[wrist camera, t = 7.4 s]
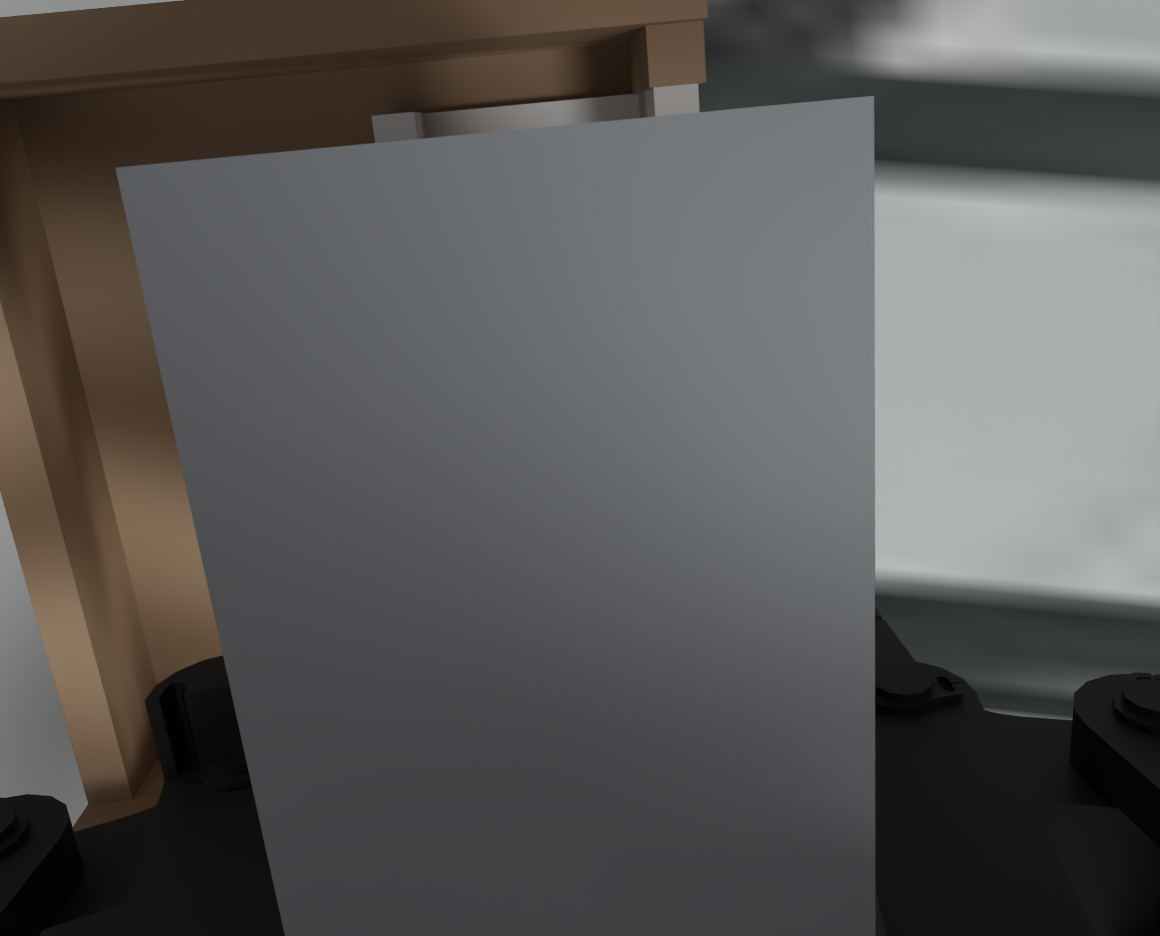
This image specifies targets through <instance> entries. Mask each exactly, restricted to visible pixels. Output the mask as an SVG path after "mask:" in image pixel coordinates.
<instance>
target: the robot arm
mask: <svg viewBox="0 0 1160 936" xmlns="http://www.w3.org/2000/svg"><path fill="white" fill-rule="evenodd" d="M145 705H146V709H147V713H148V717H149V721H150V725H151V729H152V733H153V737H154V741H155V745H156V749H157V752H158V756H159V760H160V764H161V768H162V772H163V776H164V780H165V781H164V784H163V787H162V790H161V794H160V797H159V800H158V803H157V805H155V806H153V807H151V808H149V809H146V810H143V811H140V812H137V813H135V814H132V815H129V816H126V817H123V818H119V819H116V820H112V821H109V822H106V823H102V824H99V825H95V826H92V827H89V828H85V829H82V830H79V831H75V832H74V831H73V827H72V824H71V820H70V817H69V813H68V810H67V807H66V804H64V803H62V802H60V801H59V800H57V799H55V798H53V797H52V796H42V795H29V794H26V795H20V796H14V797H8V798H0V936H285V934H284V929H283V925H282V920H281V916H280V911H279V907H278V902H277V898H276V893H275V889H274V884H273V880H272V875H271V870H270V866H269V861H268V857H267V852H266V848H265V843H264V839H263V834H262V830H261V825H260V821H259V816H258V812H257V807H256V803H255V798H254V793H253V789H252V784H251V780H250V775H249V771H248V766H247V762H246V757H245V753H244V748H243V744H242V739H241V735H240V730H239V726H238V721H237V716H236V712H235V707H234V703H233V698H232V694H231V689H230V685H229V680H228V676H227V671H226V667H225V662H224V658H223V655H222V656H218V657H214V658H210V659H206V660H202V661H200V662H198V663H195V664H193V665H191V666H188V667H186V668H184V669H181V670H179V671H177V672H175V673H174V674H172V675H171V676H169V677H168V678H166V679H165V680H163V681H162V682H160V683H159V684H158V685H156V686H155V687H154V689H153V690H152V691H151V693H150V694H149V695H148V697H147V698H146V699H145ZM875 936H1160V675H1159V674H1155V676H1154V675H1151V673H1132V674H1118V675H1107V676H1104V677H1101V678H1097V679H1094V680H1091V681H1087V682H1086V683H1085V684H1084V685H1083V686H1082V687H1080V688H1079V689H1078V690H1077V691H1076V692H1075V693H1074V706H1073V721H1072V720H1059V719H1046V718H1033V717H1020V716H1013V715H1005V714H998V713H993V712H990V711H986V710H984V708H983V706H982V704H981V702H980V700H979V698H978V696H977V694H976V692H975V691H974V690H973V689H972V688H971V687H970V686H969V685H968V684H967V682H966V681H965V680H964V679H962V678H960V677H958V676H956V675H955V674H953V673H951V672H949V671H947V670H945V669H943V668H939V667H936V666H932V665H928V664H924V663H920V662H916V661H915V660H914V659H913V657H912V656H911V655H910V653H909V652H908V651H907V649H906V648H905V647H904V645H903V644H902V643H901V641H900V640H899V638H898V637H897V636H896V634H895V633H894V632H893V630H892V629H891V628H890V626H889V625H888V624H887V622H886V621H885V620H882V616H881V614H880V613H879V611H878V610H877V609H876V607H875Z"/></svg>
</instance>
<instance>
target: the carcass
mask: <svg viewBox="0 0 1160 936" xmlns="http://www.w3.org/2000/svg"><path fill="white" fill-rule="evenodd" d="M706 18H708V10H707V0H184V1H173V2H162V3H151V4H141V5H130V6H119V7H108V8H98V9H87V10H77V11H67V12H55V13H45V14H33V15H23V16H12V17H1V18H0V491H1V495H2V499H3V502H4V506H5V509H6V513H7V516H8V520H9V523H10V527H11V531H12V534H13V538H14V541H15V545H16V548H17V552H18V556H19V559H20V563H21V566H22V570H23V573H24V577H25V580H26V584H27V588H28V591H29V595H30V598H31V602H32V605H33V608H34V612H35V616H36V620H37V623H38V626H39V630H40V634H41V637H42V641H43V644H44V648H45V651H46V655H47V658H48V662H49V666H50V669H51V673H52V676H53V680H54V683H55V687H56V690H57V694H58V698H59V701H60V705H61V708H62V712H63V715H64V719H65V722H66V726H67V730H68V733H69V737H70V740H71V744H72V747H73V751H74V754H75V758H76V761H77V765H78V768H79V772H80V776H81V779H82V782H83V786H84V790H85V793H86V797H87V800H88V805H87V807H86V809H85V810H84V811H83V813H82V814H81V816H80V817H79V819H78V820H77V822H76V823H75V825H74V826H73V831H74V832H75V831H79V830H82V829H85V828H89V827H92V826H95V825H99V824H102V823H106V822H109V821H112V820H116V819H119V818H123V817H126V816H129V815H132V814H135V813H137V812H140V811H143V810H146V809H149V808H151V807H153V806H155V805H157V803H158V800H159V797H160V794H161V790H162V787H163V784H164V781H165V780H164V776H163V772H162V768H161V764H160V760H159V756H158V752H157V749H156V745H155V741H154V737H153V733H152V729H151V725H150V721H149V717H148V713H147V709H146V705H145V699H146V698H147V697H148V695H149V694H150V693H151V691H152V690H153V689H154V687H155V686H156V685H158V684H159V683H160V682H162V681H163V680H165V679H166V678H168V677H169V676H171V675H172V674H174V673H175V672H177V671H179V670H181V669H184V668H186V667H188V666H191V665H193V664H195V663H198V662H200V661H202V660H206V659H210V658H214V657H218V656H222V655H223V653H222V649H221V644H220V639H219V635H218V630H217V626H216V621H215V617H214V612H213V608H212V603H211V599H210V594H209V590H208V585H207V581H206V576H205V571H204V567H203V562H202V558H201V553H200V549H199V544H198V540H197V535H196V531H195V526H194V522H193V517H192V513H191V508H190V504H189V499H188V494H187V490H186V485H185V481H184V476H183V472H182V467H181V463H180V458H179V454H178V449H177V445H176V440H175V436H174V431H173V427H172V422H171V417H170V413H169V408H168V404H167V399H166V395H165V390H164V386H163V381H162V377H161V372H160V368H159V363H158V359H157V354H156V350H155V345H154V340H153V336H152V331H151V327H150V322H149V318H148V313H147V309H146V304H145V300H144V295H143V291H142V286H141V282H140V277H139V273H138V268H137V263H136V259H135V254H134V250H133V245H132V241H131V236H130V232H129V227H128V223H127V218H126V214H125V209H124V205H123V200H122V196H121V191H120V186H119V182H118V177H117V173H116V168H117V167H128V166H139V165H149V164H160V163H170V162H181V161H191V160H202V159H212V158H223V157H234V156H244V155H255V154H265V153H276V152H286V151H297V150H308V149H318V148H329V147H339V146H350V145H360V144H371V143H381V142H392V141H403V140H413V139H424V138H434V137H445V136H455V135H466V134H476V133H487V132H498V131H508V130H519V129H529V128H540V127H550V126H561V125H572V124H582V123H593V122H603V121H614V120H624V119H635V118H645V117H656V116H667V115H677V114H688V113H698V112H700V111H699V92H698V84H701V83H705V82H706V66H705V45H704V25H703V20H705V19H706Z"/></svg>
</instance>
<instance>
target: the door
mask: <svg viewBox="0 0 1160 936" xmlns="http://www.w3.org/2000/svg"><path fill="white" fill-rule="evenodd" d="M116 173H117V177H118V182H119V186H120V191H121V196H122V200H123V205H124V209H125V214H126V218H127V223H128V227H129V232H130V236H131V241H132V245H133V250H134V254H135V259H136V263H137V268H138V273H139V277H140V282H141V286H142V291H143V295H144V300H145V304H146V309H147V313H148V318H149V322H150V327H151V331H152V336H153V340H154V345H155V350H156V354H157V359H158V363H159V368H160V372H161V377H162V381H163V386H164V390H165V395H166V399H167V404H168V408H169V413H170V417H171V422H172V427H173V431H174V436H175V440H176V445H177V449H178V454H179V458H180V463H181V467H182V472H183V476H184V481H185V485H186V490H187V494H188V499H189V504H190V508H191V513H192V517H193V522H194V526H195V531H196V535H197V540H198V544H199V549H200V553H201V558H202V562H203V567H204V571H205V576H206V581H207V585H208V590H209V594H210V599H211V603H212V608H213V612H214V617H215V621H216V626H217V630H218V635H219V639H220V644H221V649H222V653H223V658H224V662H225V667H226V671H227V676H228V680H229V685H230V689H231V694H232V698H233V703H234V707H235V712H236V716H237V721H238V726H239V730H240V735H241V739H242V744H243V748H244V753H245V757H246V762H247V766H248V771H249V775H250V780H251V784H252V789H253V793H254V798H255V803H256V807H257V812H258V816H259V821H260V825H261V830H262V834H263V839H264V843H265V848H266V852H267V857H268V861H269V866H270V870H271V875H272V880H273V884H274V889H275V893H276V898H277V902H278V907H279V911H280V916H281V920H282V925H283V929H284V934H285V936H875V368H874V96H867V97H857V98H846V99H836V100H825V101H814V102H804V103H793V104H783V105H772V106H762V107H751V108H741V109H730V110H719V111H709V112H698V113H688V114H677V115H667V116H656V117H645V118H635V119H624V120H614V121H603V122H593V123H582V124H572V125H561V126H550V127H540V128H529V129H519V130H508V131H498V132H487V133H476V134H466V135H455V136H445V137H434V138H424V139H413V140H403V141H392V142H381V143H371V144H360V145H350V146H339V147H329V148H318V149H308V150H297V151H286V152H276V153H265V154H255V155H244V156H234V157H223V158H212V159H202V160H191V161H181V162H170V163H160V164H149V165H139V166H128V167H117V168H116Z"/></svg>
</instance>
